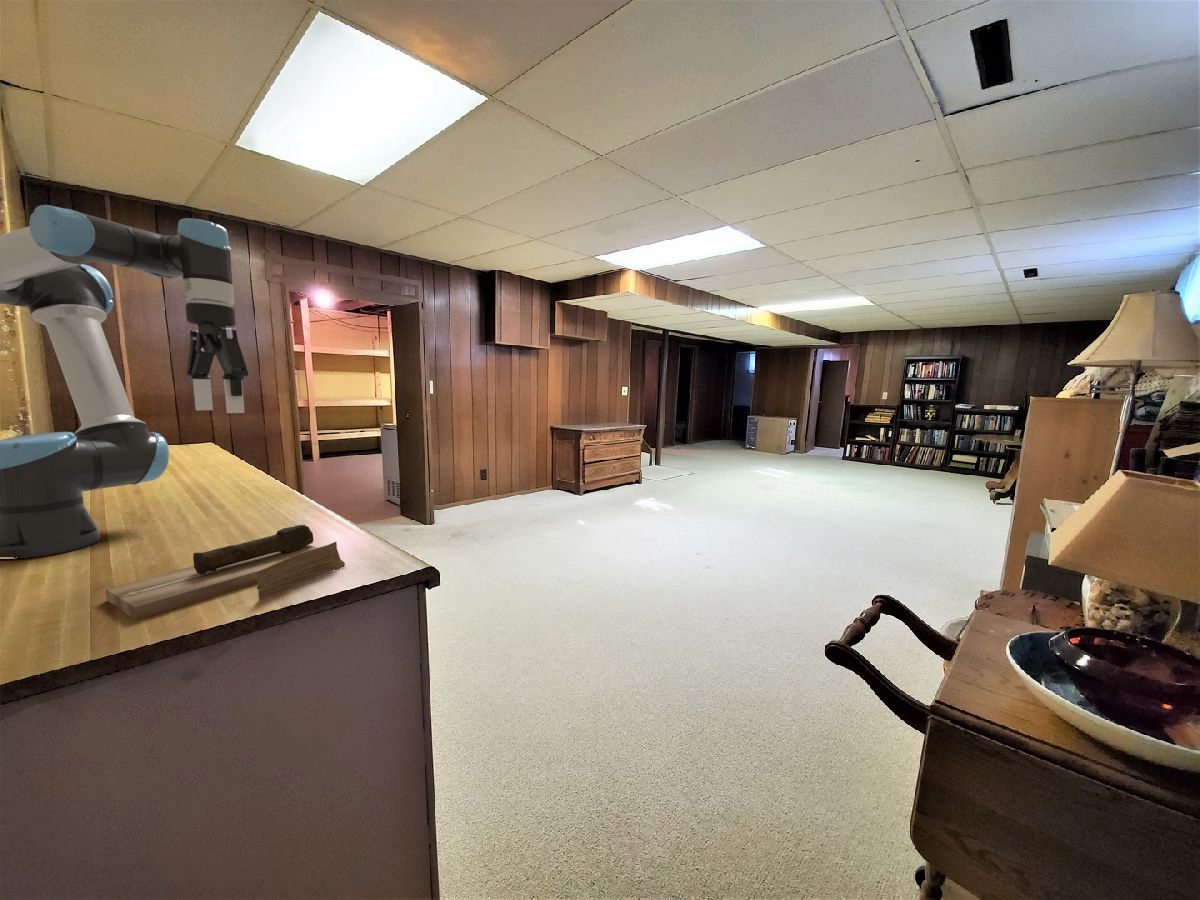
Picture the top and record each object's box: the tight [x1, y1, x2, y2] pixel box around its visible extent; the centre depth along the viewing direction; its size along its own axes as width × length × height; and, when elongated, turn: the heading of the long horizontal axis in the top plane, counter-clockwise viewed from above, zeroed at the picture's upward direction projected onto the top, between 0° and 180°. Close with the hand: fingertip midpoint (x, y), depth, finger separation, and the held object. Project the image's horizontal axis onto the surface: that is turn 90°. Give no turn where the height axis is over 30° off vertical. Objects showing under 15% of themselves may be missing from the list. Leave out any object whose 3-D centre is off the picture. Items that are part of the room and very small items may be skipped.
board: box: [105, 544, 318, 621], centre depth 82 cm, size 12×28×2 cm, turn 151°
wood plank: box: [256, 541, 346, 601], centre depth 81 cm, size 15×2×5 cm, turn 162°
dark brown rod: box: [192, 524, 314, 575], centre depth 86 cm, size 19×4×5 cm, turn 147°
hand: (219, 411), depth 94 cm, fingers open, 13 cm apart
